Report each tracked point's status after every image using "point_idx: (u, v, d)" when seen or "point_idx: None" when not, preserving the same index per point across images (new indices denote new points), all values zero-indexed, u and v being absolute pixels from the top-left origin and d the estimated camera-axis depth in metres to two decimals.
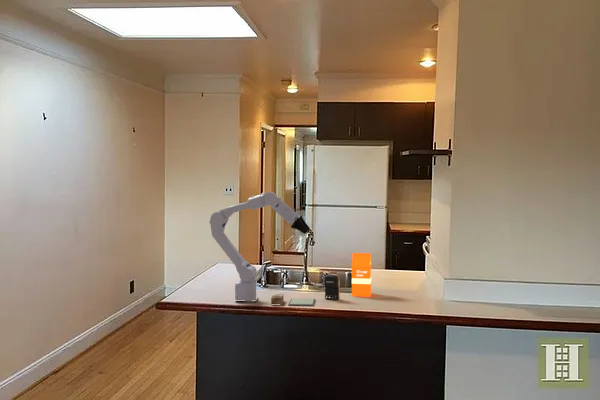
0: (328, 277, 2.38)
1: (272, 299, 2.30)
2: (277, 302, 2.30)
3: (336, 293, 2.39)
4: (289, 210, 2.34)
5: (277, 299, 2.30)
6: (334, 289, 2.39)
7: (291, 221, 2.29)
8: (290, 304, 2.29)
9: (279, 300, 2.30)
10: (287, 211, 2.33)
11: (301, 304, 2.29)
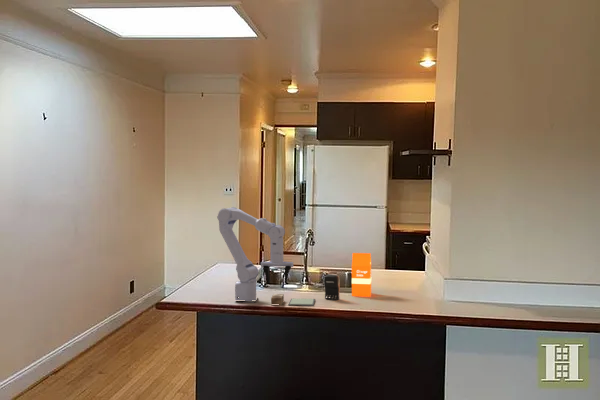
0: (328, 277, 2.38)
1: (272, 299, 2.30)
2: (277, 302, 2.30)
3: (336, 293, 2.39)
4: (271, 255, 2.32)
5: (277, 299, 2.30)
6: (334, 289, 2.39)
7: (261, 264, 2.35)
8: (290, 304, 2.29)
9: (279, 300, 2.30)
10: None
11: (301, 304, 2.29)
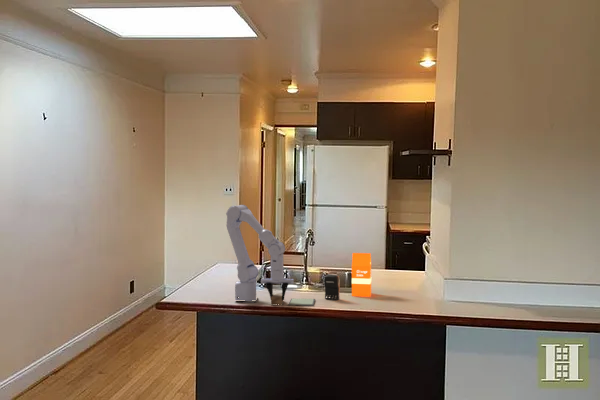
0: (328, 277, 2.38)
1: (272, 298, 2.30)
2: (277, 301, 2.30)
3: (336, 293, 2.39)
4: (272, 272, 2.32)
5: (277, 298, 2.30)
6: (334, 289, 2.39)
7: (261, 280, 2.35)
8: (290, 304, 2.29)
9: (279, 299, 2.30)
10: (271, 271, 2.33)
11: (301, 304, 2.29)
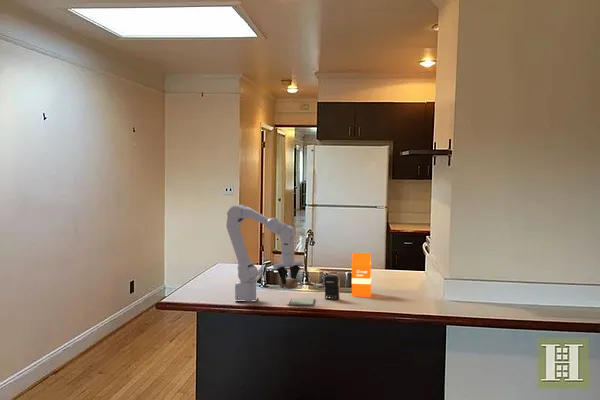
0: (328, 277, 2.38)
1: (290, 282, 2.30)
2: (294, 284, 2.31)
3: (336, 293, 2.39)
4: (286, 256, 2.31)
5: (294, 281, 2.31)
6: (334, 289, 2.39)
7: (274, 266, 2.30)
8: (290, 304, 2.29)
9: (296, 282, 2.31)
10: (284, 255, 2.31)
11: (301, 304, 2.29)
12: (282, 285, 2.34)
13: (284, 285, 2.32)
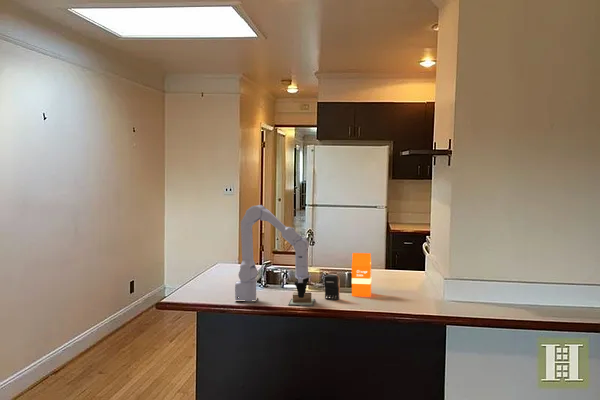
0: (328, 277, 2.38)
1: (310, 296, 2.32)
2: None
3: (336, 293, 2.39)
4: (305, 269, 2.31)
5: None
6: (334, 289, 2.39)
7: (299, 280, 2.27)
8: (290, 304, 2.29)
9: None
10: (303, 268, 2.31)
11: (301, 304, 2.29)
12: (298, 301, 2.32)
13: (301, 300, 2.32)
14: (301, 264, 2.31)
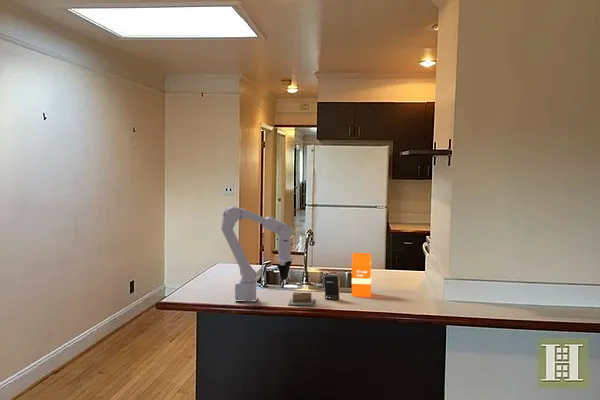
0: (328, 277, 2.38)
1: (310, 296, 2.32)
2: None
3: (336, 293, 2.39)
4: (288, 252, 2.41)
5: None
6: (334, 289, 2.39)
7: (281, 263, 2.36)
8: (290, 304, 2.29)
9: None
10: (286, 251, 2.40)
11: (301, 304, 2.29)
12: (298, 301, 2.32)
13: (301, 300, 2.32)
14: (286, 247, 2.40)
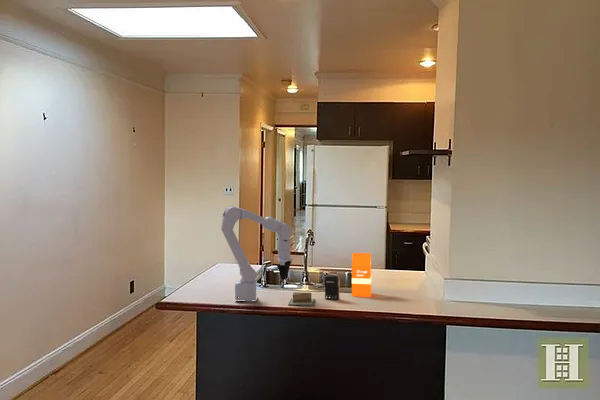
0: (328, 277, 2.38)
1: (310, 296, 2.32)
2: None
3: (336, 293, 2.39)
4: (287, 252, 2.41)
5: None
6: (334, 289, 2.39)
7: (281, 262, 2.36)
8: (290, 304, 2.29)
9: None
10: (285, 251, 2.40)
11: (301, 304, 2.29)
12: (298, 301, 2.32)
13: (301, 300, 2.32)
14: (286, 247, 2.40)
